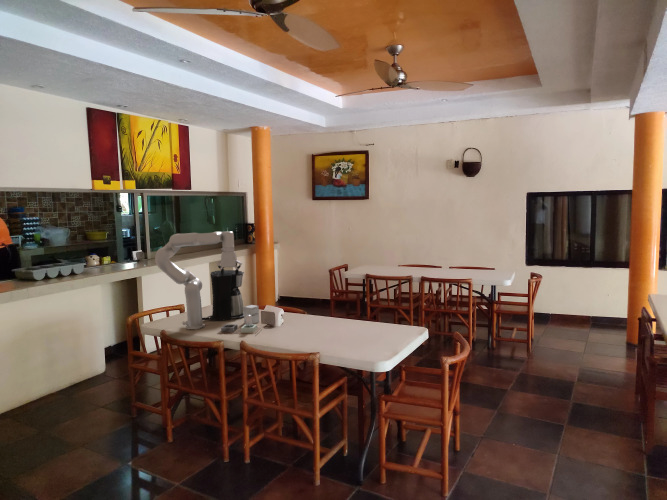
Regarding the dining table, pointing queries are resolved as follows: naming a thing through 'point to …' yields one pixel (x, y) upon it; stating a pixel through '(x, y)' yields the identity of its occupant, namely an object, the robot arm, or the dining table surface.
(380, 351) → the dining table surface
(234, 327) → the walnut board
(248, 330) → the dock socket
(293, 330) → the dining table surface
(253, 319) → the supplement box
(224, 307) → the coffee maker
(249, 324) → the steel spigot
